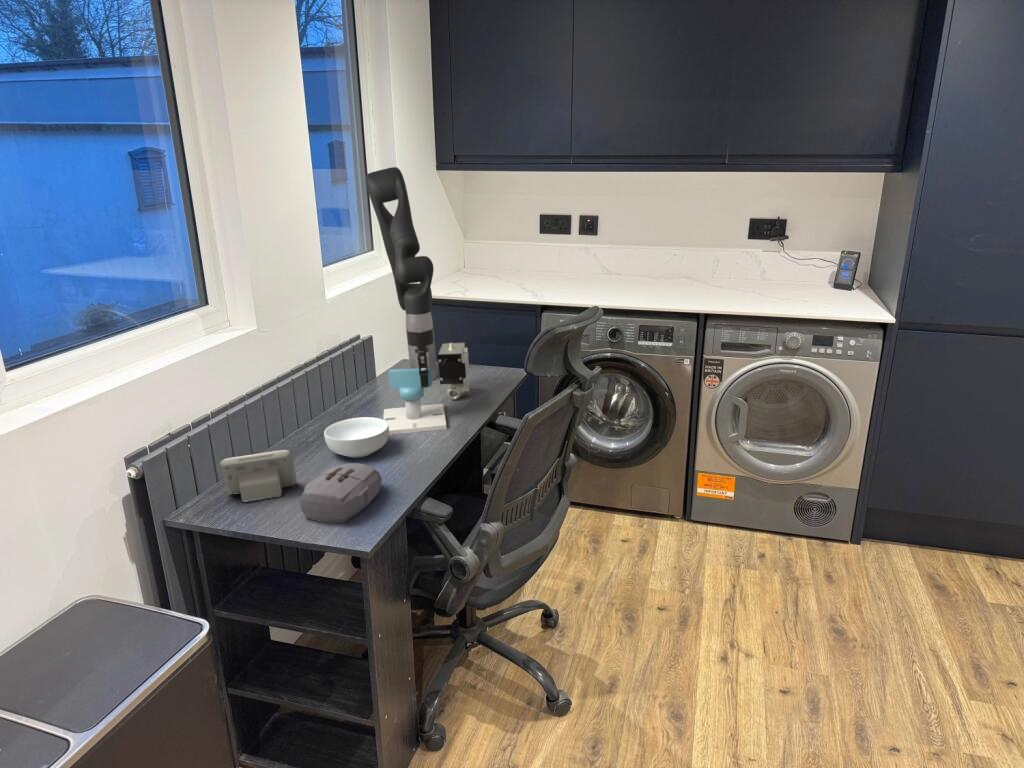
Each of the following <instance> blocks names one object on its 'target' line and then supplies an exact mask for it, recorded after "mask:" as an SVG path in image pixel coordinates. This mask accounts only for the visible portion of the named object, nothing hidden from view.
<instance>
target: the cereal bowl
mask: <svg viewBox="0 0 1024 768" xmlns="http://www.w3.org/2000/svg"><path fill="white" fill-rule="evenodd" d="M323 435H324V440H325V444H326V445H327V447H328V448H329V449H330V450H331V451H332V452H333V453H334V454H335V453H336V455H341V456H344V457H347V458H351V459H355V458H356V459H357V458H360V459H361V458H364V457H367V456H369V455H372V454H373V453H374V452H376V451H379V449H381V448H383V446H385V444H386V443H387V441H388V439H389V436H390V435H389V425H388V423H387V422H386V421H385V420H383V419H382V418H379V417H372V416H371V417H369V416H365V417H364V416H361V417H352V418H348V419H343V420H341V421H336V422H334V423H332V424H330V425H329V426H328V427H326V428H325V430H324V432H323Z"/></svg>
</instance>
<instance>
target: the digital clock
mask: <svg viewBox="0 0 1024 768" xmlns="http://www.w3.org/2000/svg"><path fill="white" fill-rule="evenodd" d="M219 464H220V469H221V470H220V471H221V473H222V475H223V476H222V477H223V479H224V482H225V483H224V484H225V486H226V490H227V493H228V494H229V493H230V494H229V495H231V494H234V493H241V494H240V498H241V501H244V500H251V499H260V498H268V497H277V498H281V497H282V496H281V494H283V488H288V487H292V486H294V485H296V483H297V474H296V470H295V464H294V459H293V454H292V452H291V451H290V450H287V449H282V450H274V451H267V452H260V453H259V452H258V453H255V454H254V453H253V454H248V455H241V456H240V455H239V456H233V457H227V458H224V459H223V460H220V463H219ZM280 496H281V497H280Z"/></svg>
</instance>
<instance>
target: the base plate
mask: <svg viewBox="0 0 1024 768" xmlns="http://www.w3.org/2000/svg"><path fill="white" fill-rule="evenodd" d="M404 405H405V406H402V407H392V408H385V409H383V420H385V421H386V422H387V423H388V425H389V436H390V435H398V434H399V435H400V434H409V433H419V432H421V431H422V432H429V431H430V432H431V431H440V430H442V431H443V430H447V429H448V428H447V420H446V414H445V408H444V403H437V404H427V405H421V398H419V399H415V400H404ZM422 432H421V433H422Z"/></svg>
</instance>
